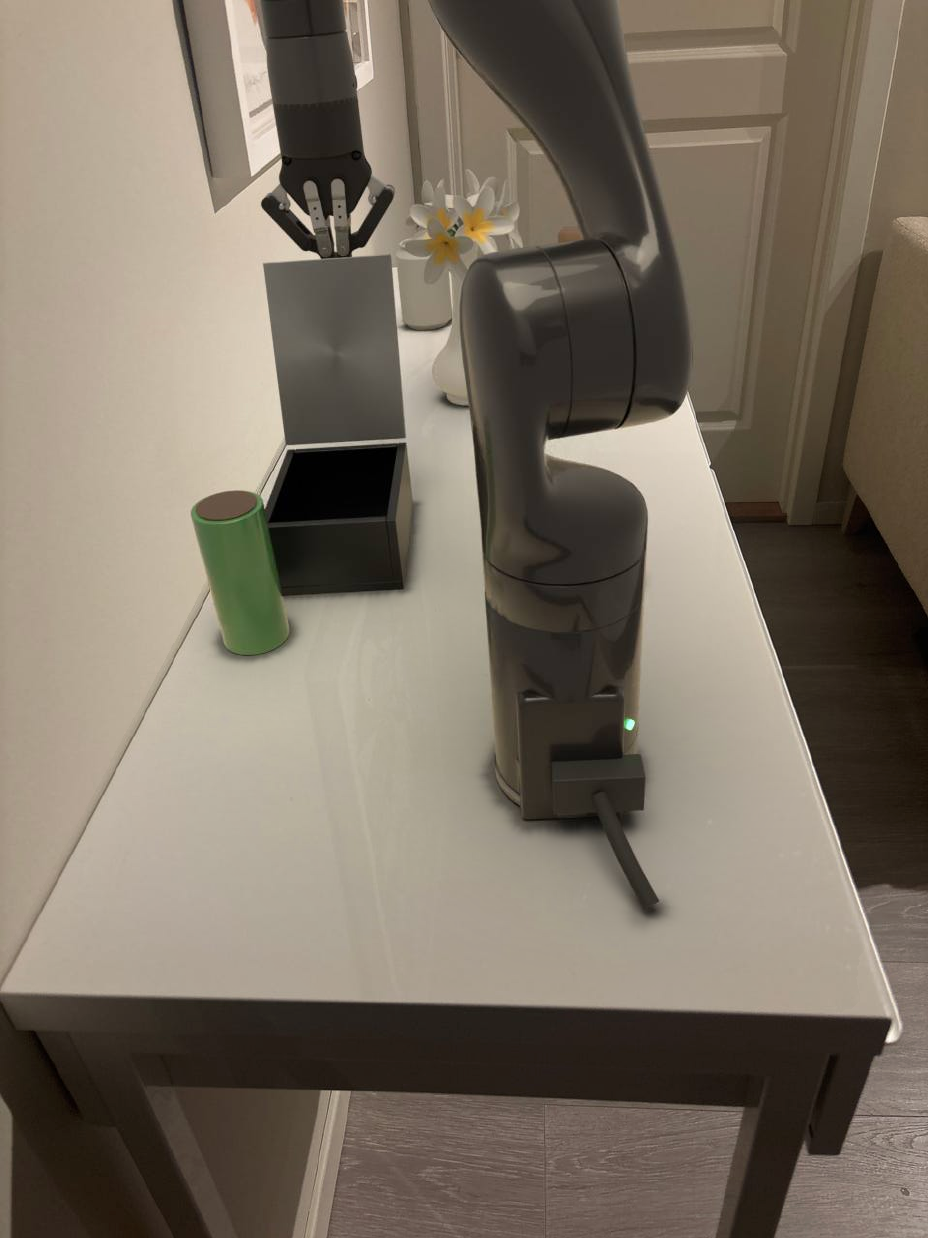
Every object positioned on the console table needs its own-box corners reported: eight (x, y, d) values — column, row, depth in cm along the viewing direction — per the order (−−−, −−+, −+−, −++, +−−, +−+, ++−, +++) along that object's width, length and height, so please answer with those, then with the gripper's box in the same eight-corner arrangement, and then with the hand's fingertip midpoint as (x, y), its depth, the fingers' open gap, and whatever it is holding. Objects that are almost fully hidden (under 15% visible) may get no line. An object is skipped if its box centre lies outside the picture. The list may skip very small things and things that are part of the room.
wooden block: (563, 276, 159) (563, 225, 155) (587, 277, 158) (587, 226, 154) (557, 283, 156) (557, 231, 152) (582, 284, 155) (582, 232, 151)
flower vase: (414, 431, 111) (390, 200, 97) (429, 373, 126) (410, 167, 112) (526, 427, 110) (519, 193, 96) (528, 369, 125) (521, 160, 111)
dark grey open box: (403, 588, 83) (395, 520, 79) (272, 595, 84) (257, 527, 80) (413, 504, 96) (406, 441, 92) (298, 511, 97) (287, 449, 93)
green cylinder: (283, 653, 76) (254, 519, 70) (217, 657, 77) (181, 523, 70) (294, 615, 81) (268, 486, 74) (231, 618, 81) (199, 490, 74)
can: (395, 322, 146) (386, 239, 139) (440, 312, 148) (434, 231, 141) (414, 335, 140) (406, 249, 133) (460, 325, 142) (455, 240, 136)
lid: (390, 254, 86) (391, 254, 87) (262, 262, 87) (264, 262, 87) (405, 438, 92) (406, 436, 92) (285, 445, 92) (287, 444, 93)
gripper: (231, 105, 82) (268, 309, 92) (385, 93, 81) (406, 300, 91) (248, 94, 88) (281, 286, 98) (391, 83, 87) (410, 278, 97)
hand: (341, 292), depth 94 cm, fingers closed
